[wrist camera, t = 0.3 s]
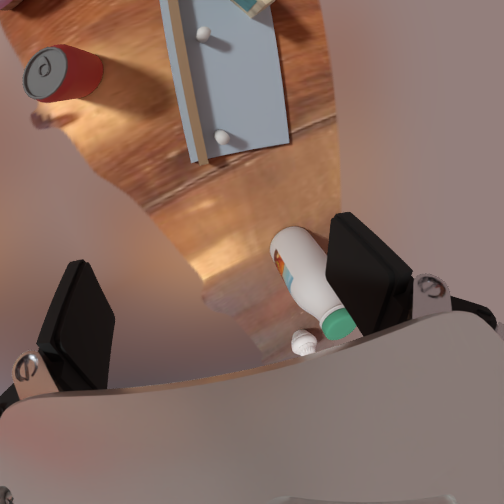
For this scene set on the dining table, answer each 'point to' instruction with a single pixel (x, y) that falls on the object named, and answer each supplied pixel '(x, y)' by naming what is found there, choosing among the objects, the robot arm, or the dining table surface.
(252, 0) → the beige tapered block
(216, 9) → the ledge
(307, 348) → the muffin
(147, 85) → the dining table surface
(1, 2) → the cupcake
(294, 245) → the milk bottle
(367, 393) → the robot arm
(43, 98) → the beer can
